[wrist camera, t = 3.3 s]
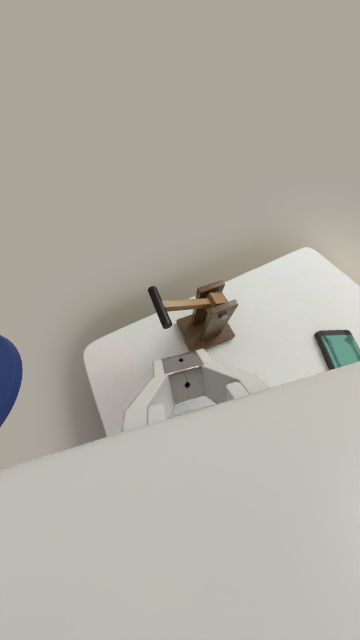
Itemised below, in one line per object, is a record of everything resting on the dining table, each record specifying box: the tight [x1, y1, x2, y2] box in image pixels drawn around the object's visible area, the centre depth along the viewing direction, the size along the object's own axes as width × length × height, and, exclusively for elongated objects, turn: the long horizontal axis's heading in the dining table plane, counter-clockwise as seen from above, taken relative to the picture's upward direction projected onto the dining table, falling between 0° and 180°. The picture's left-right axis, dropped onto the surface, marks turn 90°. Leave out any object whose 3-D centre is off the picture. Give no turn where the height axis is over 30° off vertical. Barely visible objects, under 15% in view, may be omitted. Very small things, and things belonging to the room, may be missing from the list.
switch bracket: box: [177, 280, 238, 352], centre depth 31 cm, size 10×8×13 cm
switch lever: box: [148, 286, 228, 329], centre depth 25 cm, size 12×6×2 cm, turn 113°
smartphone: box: [315, 330, 360, 370], centre depth 33 cm, size 7×1×15 cm
